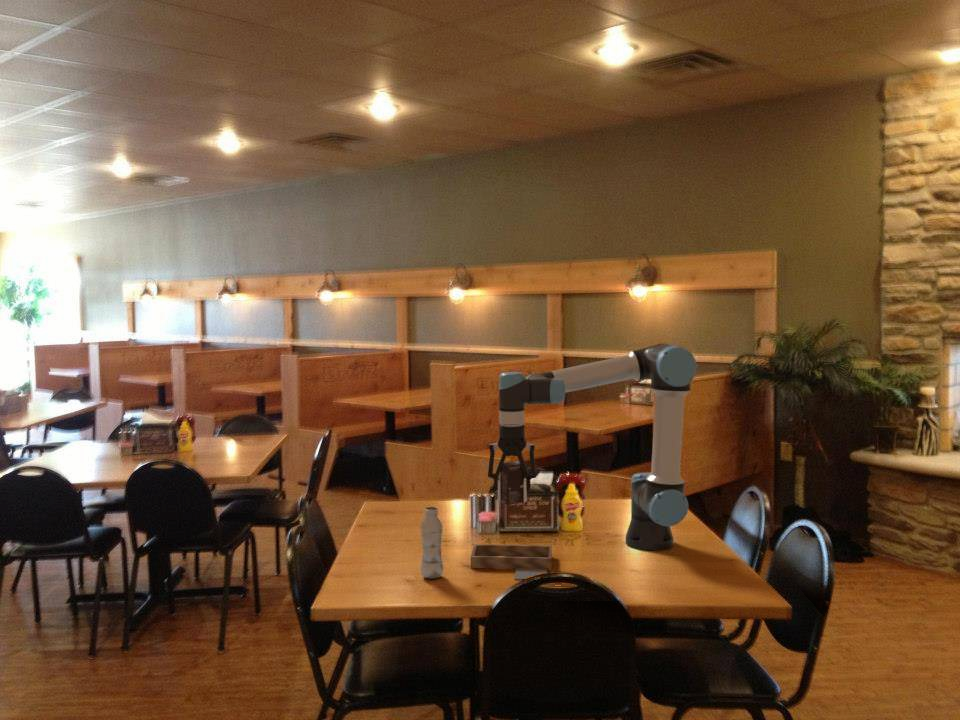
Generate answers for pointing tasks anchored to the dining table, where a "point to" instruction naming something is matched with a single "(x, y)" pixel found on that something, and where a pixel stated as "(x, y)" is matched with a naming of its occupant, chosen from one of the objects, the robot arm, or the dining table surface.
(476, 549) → the brown shallow rectangular container
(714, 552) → the dining table surface
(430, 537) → the plastic bottle
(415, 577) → the dining table surface
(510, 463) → the box
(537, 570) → the tile
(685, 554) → the dining table surface
